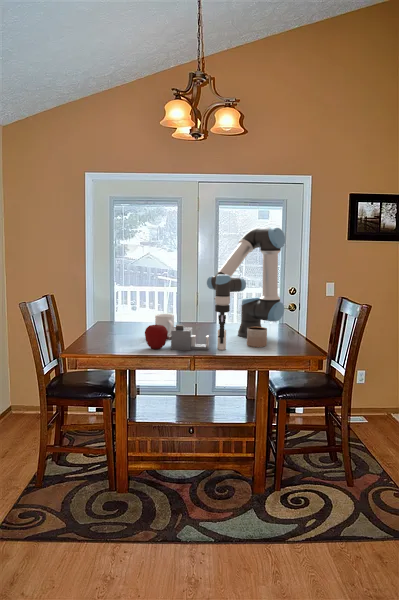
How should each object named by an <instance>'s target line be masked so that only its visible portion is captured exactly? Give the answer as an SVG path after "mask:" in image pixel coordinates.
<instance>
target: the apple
mask: <svg viewBox="0 0 399 600" xmlns="http://www.w3.org/2000/svg"><path fill="white" fill-rule="evenodd" d="M144 330H145V331H144V336H145V337H144V338H145V341H146V344H147V346H148V347H149V348H150V349H152V350H158V349H159V350H160V349H162V348H163V347H164V346H165V345H166V342H167V341H168V340H167V335H168V331H167V329H166V328H165V327H164V326H163V325H155V324H151V325H148V326H147V327H145V329H144Z"/></svg>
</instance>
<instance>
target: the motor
mask: <svg viewBox="0 0 399 600" xmlns="http://www.w3.org/2000/svg"><path fill="white" fill-rule="evenodd" d="M196 335H197V334H193V326H190V327H187V326H185V325H184V324H176V325H175V326H174V327H173V329H172V330H171V336H167V340H166V341H170V350H171V351H191V350H192V351H193V350H197V351H198V350H199V351H201V350H202V351H204V350H205V351H209V349H210V348H209V347H210V335H209V334H208V335H206V336H205V338H206V339H205V340H206V341H205V343H197V342H196V341H197V340H196V337H197V336H196Z"/></svg>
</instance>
